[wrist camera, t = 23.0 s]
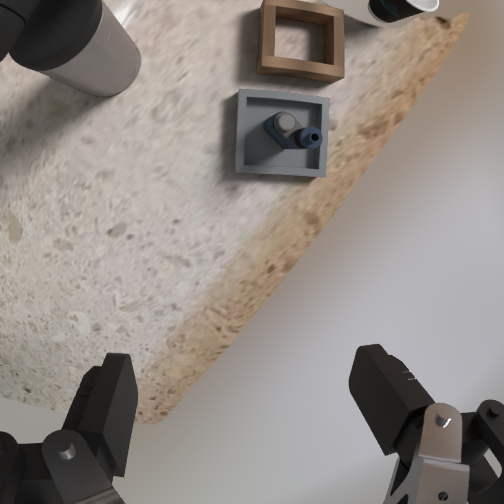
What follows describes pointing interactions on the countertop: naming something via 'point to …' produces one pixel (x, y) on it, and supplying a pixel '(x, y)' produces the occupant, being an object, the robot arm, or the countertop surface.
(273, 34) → the hollow wooden square
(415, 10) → the dixie cup
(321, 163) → the tray
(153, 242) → the countertop surface
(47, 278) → the countertop surface
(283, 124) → the vaping device
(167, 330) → the countertop surface
